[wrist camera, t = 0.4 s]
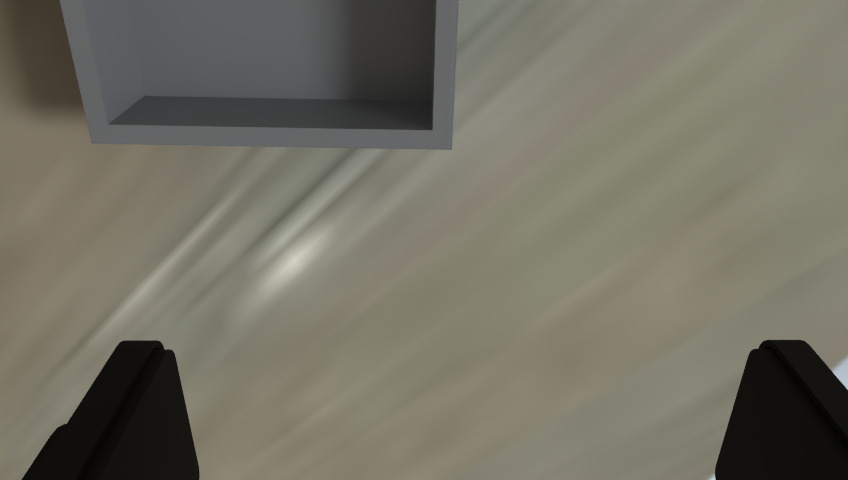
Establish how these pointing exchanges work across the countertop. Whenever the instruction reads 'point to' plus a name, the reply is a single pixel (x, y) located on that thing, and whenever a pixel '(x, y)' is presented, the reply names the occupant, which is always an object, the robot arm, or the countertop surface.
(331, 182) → the countertop surface
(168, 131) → the charcoal crate
